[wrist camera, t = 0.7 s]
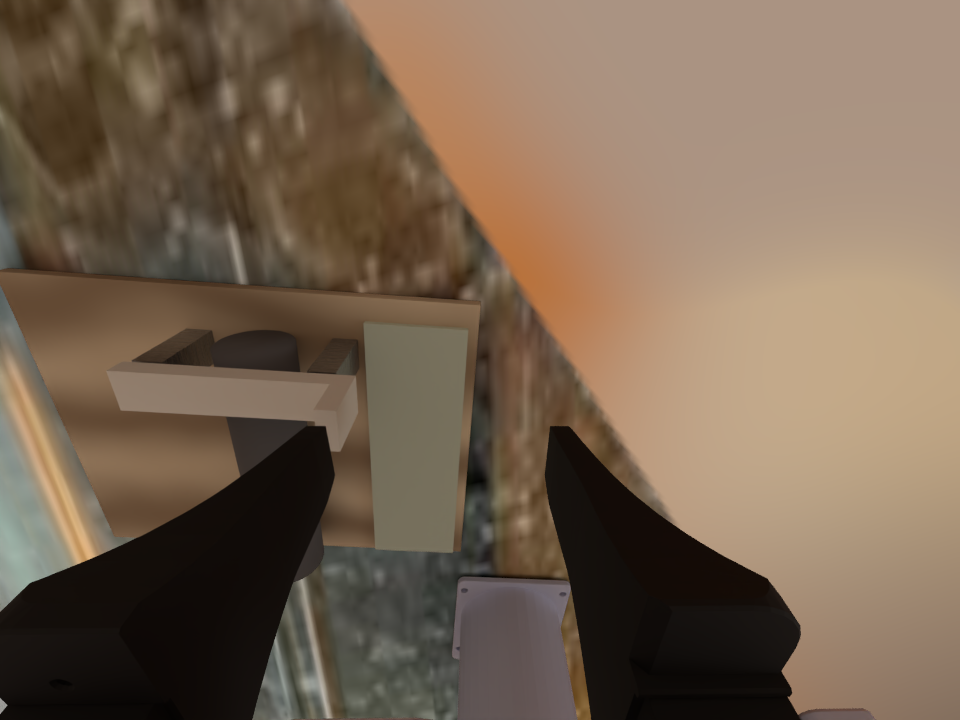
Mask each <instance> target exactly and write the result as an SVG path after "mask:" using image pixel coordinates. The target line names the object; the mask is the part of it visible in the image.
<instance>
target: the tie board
mask: <svg viewBox="0 0 960 720" xmlns="http://www.w3.org/2000/svg"><path fill="white" fill-rule="evenodd" d="M0 285H1V287H2V289H3V292H4V294H5V296H6V298H7V300H8V303H9V305H10V307H11V309H12V311H13V314H14V316H15V318H16V320H17V322H18V325H19V327H20V329H21V331H22V333H23V336H24V338H25V340H26V342H27V345H28V347H29V349H30V351H31V353H32V356H33V358H34V360H35V362H36V364H37V367H38V369H39V371H40V373H41V375H42V378H43V380H44V382H45V384H46V386H47V389H48V391H49V393H50V395H51V397H52V400H53V402H54V404H55V406H56V408H57V411H58V413H59V415H60V417H61V420H62V422H63V424H64V426H65V428H66V431H67V433H68V435H69V437H70V439H71V442H72V444H73V446H74V448H75V450H76V453H77V455H78V457H79V459H80V461H81V464H82V466H83V468H84V470H85V472H86V475H87V477H88V479H89V481H90V483H91V486H92V488H93V490H94V492H95V495H96V497H97V499H98V501H99V503H100V506H101V508H102V510H103V512H104V514H105V517H106V519H107V521H108V523H109V525H110V528H111V530H112V532H113V534H114V536H115V537H137V538H138V537H140V536H142V535H144V534H146V533H148V532H150V531H152V530H153V529H155V528H157V527H159V526H161V525H163V524H165V523H167V522H168V521H170V520H172V519H174V518H176V517H178V516H180V515H181V514H183V513H185V512H187V511H188V510H190V509H192V508H194V507H195V506H197V505H198V504H200V503H202V502H203V501H205V500H207V499H208V498H210V497H211V496H213V495H215V494H216V493H218V492H219V491H221V490H222V489H224V488H225V487H227V486H228V485H229V484H231V483H232V482H234V481H235V480H236V479H238V478H239V477H240V473H239V469H238V465H237V461H236V457H235V452H234V448H233V444H232V440H231V436H230V431H229V427H228V423H227V419H226V416H210V415H193V414H175V413H157V412H139V411H121V410H120V407H119V404H118V402H117V399H116V396H115V393H114V391H113V388H112V385H111V383H110V380H109V377H108V375H107V372H106V370H108V369H110V368H112V367H114V366H115V365H117V364H119V363H121V362H122V361H124V362H140V363H157V364H173V365H189V366H205V367H214V364H213V360H212V356H211V351H210V349H211V346H212V345H213V344H214V343H215V342H217V341H218V340H220V339H222V338H224V337H227V336H230V335H233V334H236V333H241V332H246V331H254V330H275V331H282V332H286V333H289V334H291V335H293V336H294V337H295V338H296V342H297V350H298V357H299V365H300V372H303V373H320V374H336V375H352V376H356V386H357V402H358V414H357V416H356V419H355V421H354V423H353V425H352V427H351V429H350V432H349V434H348V436H347V438H346V440H345V442H344V445H343V447H342V449H341V451H340V452H335V451H331V456H332V461H333V466H334V471H335V478H334V482H333V485H332V489H331V492H330V496H329V499H328V502H327V505H326V508H325V510H324V512H323V515H322V517H321V519H320V523H321V530H322V538H323V545H325V546H348V547H372V548H375V550H398V551H422V552H445V553H453V551H461V539H462V527H463V515H464V503H465V490H466V478H467V466H468V453H469V441H470V429H471V416H472V404H473V392H474V380H475V367H476V355H477V343H478V330H479V318H480V306H481V305H480V301H467V300H453V299H438V298H424V297H410V296H396V295H382V294H367V293H353V292H339V291H325V290H311V289H296V288H282V287H268V286H254V285H240V284H225V283H211V282H197V281H183V280H169V279H154V278H140V277H126V276H112V275H98V274H83V273H69V272H55V271H41V270H27V269H12V268H7V269H2V270H0ZM307 425H308V426H315V421H307Z"/></svg>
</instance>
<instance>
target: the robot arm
mask: <svg viewBox="0 0 960 720" xmlns="http://www.w3.org/2000/svg"><path fill="white" fill-rule="evenodd" d="M334 478H335V471H334V466H333V461H332V456H331V451H330V445H329V440H328V435H327V430H326V426H306V427H305V428H303V429H302V430H300V431H299V432H298V433H296V434H295V435H294V436H293V437H291V438H290V439H289V440H288V441H286V442H285V443H284V444H283V445H281V446H280V447H279V448H278V449H276V450H275V451H274V452H273V453H271V454H270V455H269V456H267V457H266V458H265V459H264V460H262V461H261V462H260V463H258V464H257V465H256V466H254V467H253V468H252V469H250V470H249V471H248V472H246V473H245V474H243V475H242V476H241V477H239V478H238V479H236V480H235V481H234V482H232V483H231V484H229V485H228V486H227V487H225V488H224V489H222V490H221V491H219V492H218V493H216V494H215V495H213V496H211V497H210V498H208V499H207V500H205V501H203V502H202V503H200V504H198V505H197V506H195V507H194V508H192V509H190V510H188V511H187V512H185V513H183V514H181V515H180V516H178V517H176V518H174V519H172V520H170V521H168V522H167V523H165V524H163V525H161V526H159V527H157V528H155V529H153V530H152V531H150V532H148V533H146V534H144V535H142V536H140V537H138V538H136V539H134V540H132V541H129V542H127V543H125V544H123V545H121V546H119V547H117V548H114V549H112V550H110V551H108V552H106V553H103V554H101V555H99V556H97V557H94V558H92V559H90V560H87V561H85V562H82V563H80V564H77V565H75V566H72V567H70V568H67V569H65V570H62V571H60V572H57V573H55V574H52V575H50V576H47V577H45V578H42V579H40V580H37V581H34V582H32V583H30V584H29V585H28V586H27V587H26V588H25V589H24V590H22V591H21V592H20V593H19V594H18V595H17V596H16V597H15V598H14V599H13V600H12V601H11V602H10V603H9V604H8V605H7V606H6V607H5V608H4V609H3V610H2V611H1V612H0V698H1V699H2V700H3V701H4V702H5V703H6V704H7V705H8V706H7V707H6V708H5V709H4V710H3V711H2V713H1V714H0V720H252V718H253V715H254V711H255V707H256V703H257V699H258V695H259V692H260V688H261V684H262V681H263V677H264V674H265V670H266V667H267V663H268V659H269V656H270V653H271V649H272V646H273V643H274V640H275V636H276V633H277V630H278V626H279V623H280V620H281V617H282V614H283V611H284V608H285V605H286V602H287V599H288V596H289V593H290V590H291V587H292V584H293V581H294V579H295V576H296V574H297V571H298V569H299V567H300V564H301V562H302V560H303V558H304V555H305V553H306V551H307V549H308V546H309V544H310V542H311V540H312V537H313V535H314V533H315V531H316V528H317V526H318V524H319V521H320V519H321V517H322V515H323V512H324V510H325V508H326V505H327V502H328V499H329V496H330V492H331V489H332V485H333V482H334ZM545 480H546V487H547V494H548V500H549V505H550V509H551V513H552V517H553V520H554V524H555V528H556V531H557V535H558V539H559V542H560V546H561V549H562V553H563V557H564V560H565V564H566V568H567V572H568V576H569V580H570V583H569V582H567V581H564V580H540V579H515V578H490V577H461V578H460V579H459V580H458V586H457V599H456V611H455V623H454V636H453V648H452V657H453V658H455V659H459V690H458V720H577V715H576V709H575V704H574V699H573V693H572V688H571V682H570V677H569V671H568V666H567V661H566V655H565V650H564V644H563V639H562V633H561V628H560V627H561V624H562V620H563V616H564V613H565V609H566V605H567V602H568V598H569V594H570V590H572V596H573V602H574V608H575V613H576V619H577V626H578V632H579V638H580V644H581V650H582V657H583V664H584V671H585V677H586V684H587V691H588V698H589V706H590V713H591V720H875V718H874V717H873V716H872V715H871V713H870V712H869V711H867V710H865V709H815V710H808V711H806V712H803V713H801V714H799V715H798V714H797V713H796V711H795V709H794V707H793V706H792V704H791V702H790V701H789V699H788V697H790V695H791V694H792V690H791V687H790V685H789V684H788V682H787V680H786V679H785V677H784V675H783V674H782V672H781V671H782V669H783V667H784V666H785V664H786V662H787V661H788V660H789V658H790V656H791V655H792V653H793V652H794V650H795V649H796V646H797V644H798V642H799V639H800V635H801V631H800V625H799V623H798V622H797V620H796V619H795V617H794V616H793V614H792V613H791V611H790V609H789V608H788V606H787V605H786V604H785V602H784V601H783V599H782V597H781V596H780V595H779V593H778V592H777V591H776V590H775V588H774V587H773V586H772V584H771V583H770V582H769V580H768V579H767V578H765V577H763V576H761V575H759V574H757V573H755V572H753V571H751V570H749V569H747V568H745V567H743V566H742V565H740V564H738V563H736V562H734V561H732V560H730V559H728V558H726V557H724V556H722V555H721V554H719V553H717V552H716V551H714V550H712V549H710V548H709V547H707V546H705V545H704V544H702V543H700V542H699V541H697V540H695V539H694V538H692V537H691V536H689V535H688V534H686V533H685V532H683V531H682V530H680V529H679V528H677V527H676V526H674V525H673V524H672V523H670V522H669V521H667V520H666V519H664V518H663V517H662V516H660V515H659V514H658V513H656V512H655V511H654V510H652V509H651V508H650V507H649V506H647V505H646V504H645V503H644V502H642V501H641V500H640V499H639V498H637V497H636V496H635V495H634V494H633V493H632V492H630V491H629V490H628V489H627V488H626V487H625V486H624V485H623V484H622V483H621V482H620V481H619V480H618V479H616V478H615V477H614V476H613V475H612V474H611V473H610V471H609V470H608V469H607V468H606V467H605V466H604V465H603V464H602V463H601V462H600V461H599V460H598V459H597V458H596V457H595V455H594V454H593V453H592V452H591V451H590V450H589V449H588V448H587V446H586V445H585V444H584V443H583V442H582V441H581V439H580V438H579V437H578V436H577V435H576V434H575V432H574V431H573V430H572V429H571V428H570V427H569V426H550V433H549V442H548V451H547V460H546V469H545ZM570 585H571V587H570ZM293 720H431V719H422V718H343V719H293Z"/></svg>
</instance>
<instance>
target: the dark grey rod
mask: <svg viewBox="0 0 960 720" xmlns="http://www.w3.org/2000/svg"><path fill="white" fill-rule="evenodd" d="M210 351H211V356H212V360H213V364H214V367H222V368H238V369H254V370H271V371H287V372H300V365H299V357H298V350H297V342H296V338H295V337H294V336H293V335H291V334H289V333H286V332H282V331H275V330H254V331H246V332H241V333H236V334H233V335H230V336H227V337H224V338H222V339H220V340H218V341H217V342H215V343H214V344H213V345H212V346H211V349H210ZM226 419H227V423H228V427H229V431H230V436H231V440H232V444H233V448H234V452H235V457H236V461H237V465H238V469H239V473H240V477H241V476H242V475H243V474H245V473H246V472H248V471H249V470H250V469H252V468H253V467H254V466H256V465H257V464H258V463H260V462H261V461H262V460H264V459H265V458H266V457H267V456H269V455H270V454H271V453H273V452H274V451H275V450H276V449H278V448H279V447H280V446H281V445H283V444H284V443H285V442H286V441H288V440H289V439H290V438H291V437H293V436H294V435H295V434H296V433H298V432H299V431H300V430H302V429H303V428H305V427H306V426H308V425H307V421H300V420H282V419H264V418H246V417H228V416H226ZM323 555H324V545H323V538H322V530H321V523H320V521H319V524H318V526H317V528H316V531H315V533H314V535H313V537H312V540H311V542H310V544H309V546H308V549H307V551H306V553H305V555H304V558H303V560H302V562H301V564H300V567H299V569H298V571H297V574H296V576H295V579H294V581H293V582H295V581H298V580H300V579H303V578H304V577H306V576H308V575H309V574H311V573H312V572H313V571H314V570H315V569H316V568H317V567H318V565H319V564H320V562H321V560H322V558H323Z"/></svg>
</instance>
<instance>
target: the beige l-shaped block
mask: <svg viewBox="0 0 960 720" xmlns="http://www.w3.org/2000/svg"><path fill="white" fill-rule="evenodd" d="M106 372H107V375H108V377H109V380H110V383H111V385H112V388H113V391H114V393H115V396H116V399H117V402H118V404H119V407H120V410H121V411H139V412H157V413H175V414H193V415H210V416H228V417H246V418H264V419H282V420H300V421H315V426H326V430H327V435H328V440H329V445H330V451H335V452H340V451H341V449H342V447H343V445H344V442H345V440H346V438H347V436H348V434H349V432H350V429H351V427H352V425H353V423H354V421H355V419H356V416H357V414H358V402H357V386H356V376H352V375H336V374H320V373H303V372H287V371H271V370H254V369H238V368H222V367H205V366H189V365H173V364H157V363H140V362H124V361H122V362H121V363H119V364H117V365H115V366H114V367H112V368H110V369H108V370H106Z"/></svg>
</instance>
